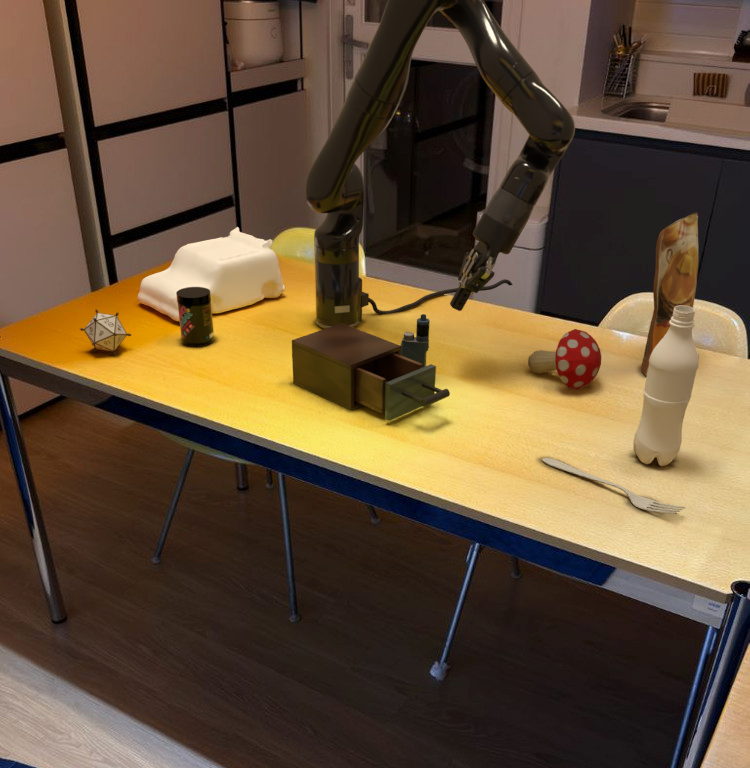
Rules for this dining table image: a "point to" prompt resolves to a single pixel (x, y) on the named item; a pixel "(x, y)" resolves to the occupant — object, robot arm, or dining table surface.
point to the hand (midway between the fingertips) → (454, 308)
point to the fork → (635, 499)
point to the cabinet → (335, 361)
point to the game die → (105, 332)
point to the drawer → (396, 385)
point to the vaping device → (417, 342)
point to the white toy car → (217, 274)
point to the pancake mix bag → (672, 277)
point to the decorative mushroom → (570, 359)
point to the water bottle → (667, 390)
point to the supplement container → (195, 316)
